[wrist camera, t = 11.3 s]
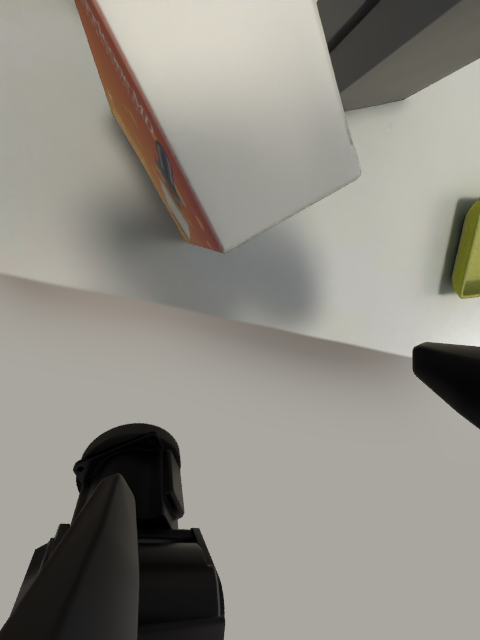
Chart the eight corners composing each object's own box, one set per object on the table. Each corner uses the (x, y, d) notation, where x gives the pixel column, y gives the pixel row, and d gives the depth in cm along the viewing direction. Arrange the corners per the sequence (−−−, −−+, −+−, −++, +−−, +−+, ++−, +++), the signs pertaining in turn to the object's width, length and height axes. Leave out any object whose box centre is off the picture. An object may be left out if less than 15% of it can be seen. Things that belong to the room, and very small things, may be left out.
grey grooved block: (306, 119, 18) (468, -6, 8) (295, 31, 16) (482, -241, 7) (403, 99, 19) (629, -24, 10) (403, 17, 18) (671, -218, 8)
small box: (110, 112, 15) (22, -128, 5) (199, 69, 15) (274, -218, 6) (186, 246, 18) (222, 259, 8) (256, 206, 18) (368, 175, 9)
